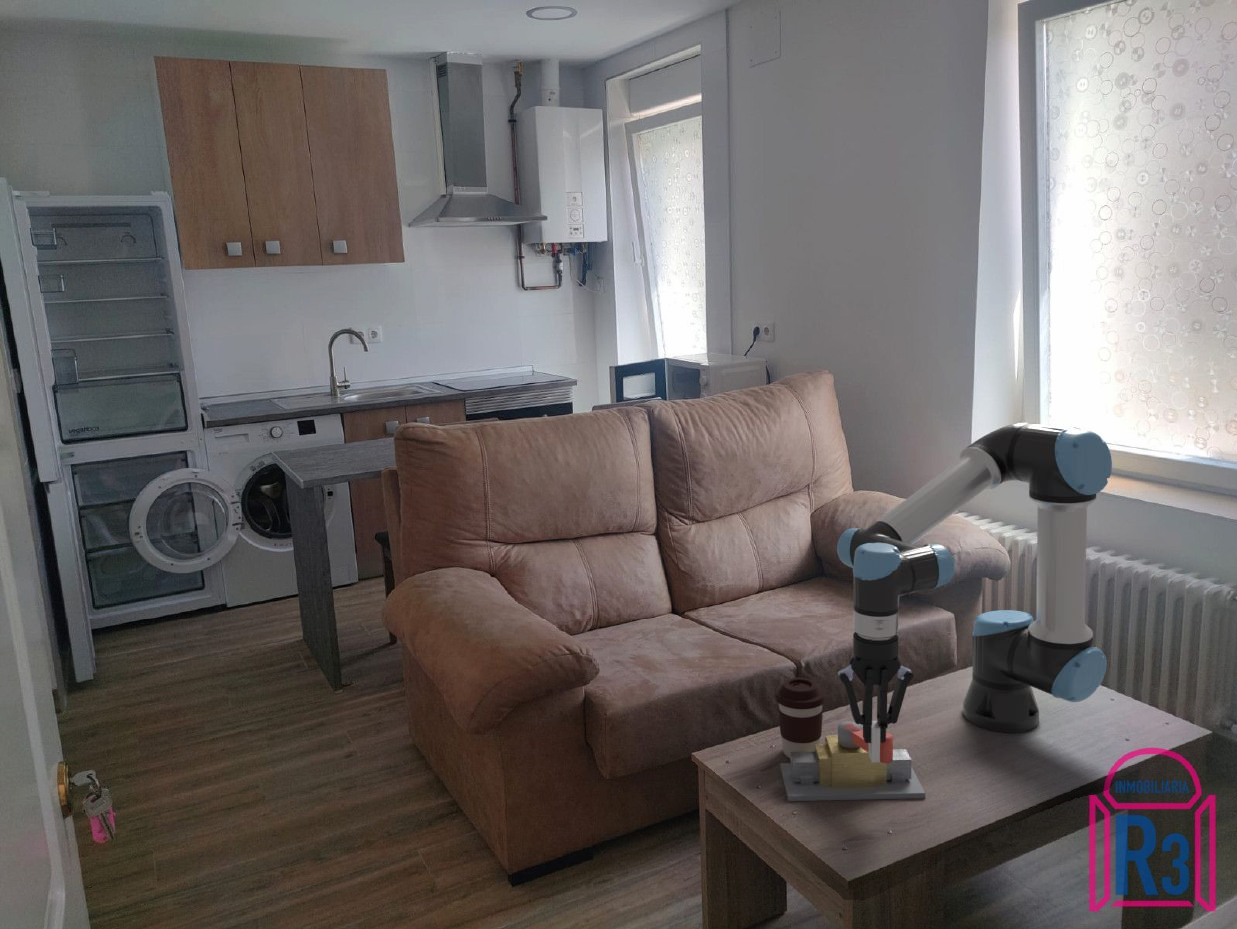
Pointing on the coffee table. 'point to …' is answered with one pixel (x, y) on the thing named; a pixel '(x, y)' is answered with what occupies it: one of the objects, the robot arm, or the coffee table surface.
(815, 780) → the pipe valve
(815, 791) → the mount board
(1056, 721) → the coffee table surface
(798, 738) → the coffee cup
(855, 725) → the lever
